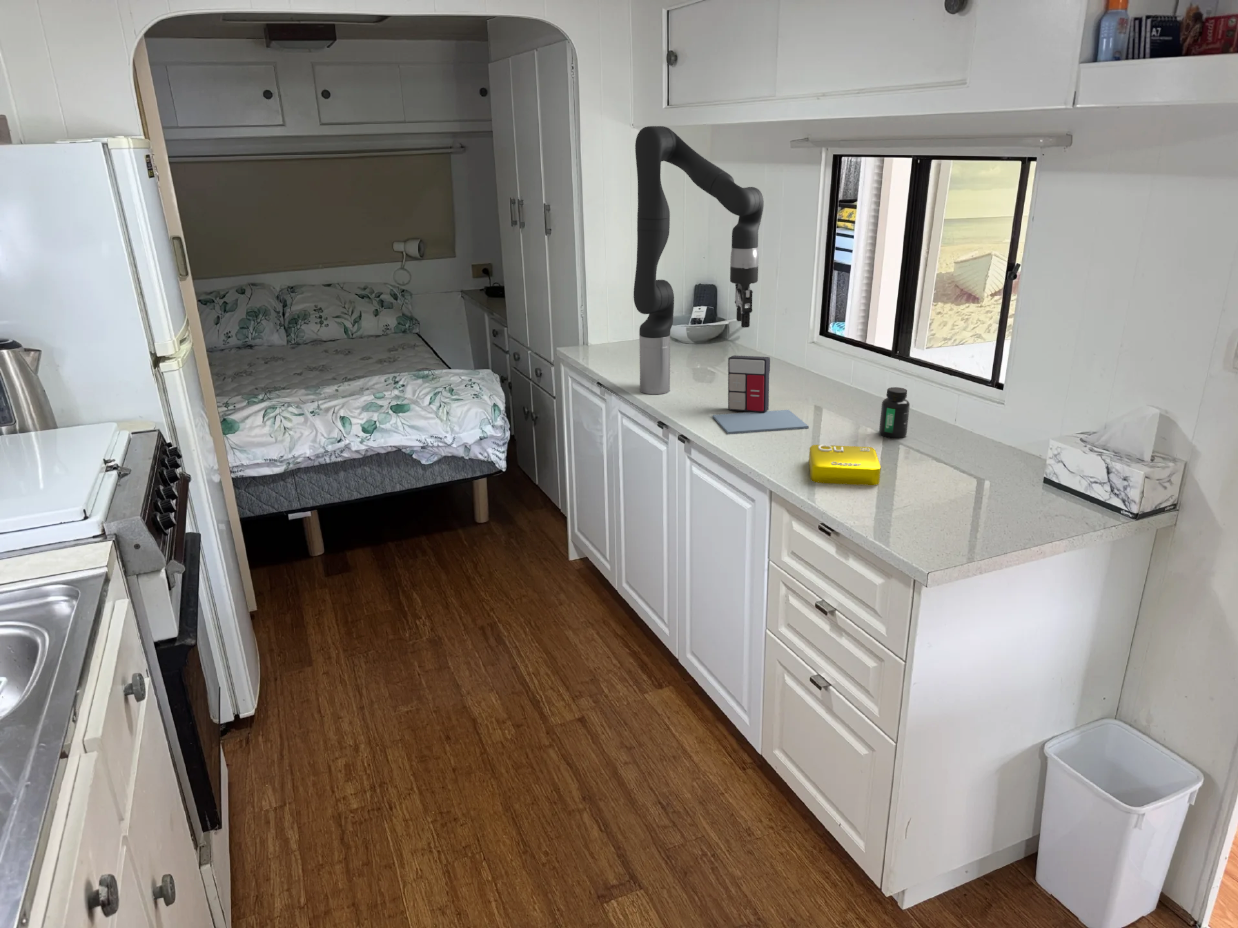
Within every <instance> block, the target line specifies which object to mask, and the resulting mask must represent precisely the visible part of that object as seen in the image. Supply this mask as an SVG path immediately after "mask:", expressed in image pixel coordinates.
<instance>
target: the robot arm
mask: <svg viewBox="0 0 1238 928" xmlns="http://www.w3.org/2000/svg"><path fill="white" fill-rule="evenodd" d="M634 144H635V145H634V149H635V150H634V151H635V161H636V162H635V163H636V164H635V165H636V174H637V175H636V177H637V215H636V216H637V217H636V219H637V220H636V222H637V224H636V225H637V226H636V227H637V228H636V230H637V231H636V232H637V233H636V235H637V236H636V237H637V240H636V241H637V242H636V244H637V245H636V267H635V277H634V283H633V303H634V307H635V309H636V310H637V312H639V313H640V314H641V315H648V317H647V318H646V319H645V321H644V322H642V323H641V324H640V326H639V331H638V333H639V334H638V335H639V391H640V392H641V393H643V394H646V395H661V394H666V393H669V392H670V391H671V329H672V327H673V324H674V308H675V293H674V289H673V287H672V285H671V284H670V283H669V282H668V281H667V280H665V279H657V271H658V264H659V261H660V259H661V257H662V254H663V252H664V250H665V248H666V246H667V244H668V240H669V236H670V225H671V224H670V221H671V220H670V219H671V218H670V217H671V214H670V213H671V212H670V207H669V203H668V200H667V198H666V195H665V192H664V190H663V186H662V180H661V174H662V173H661V172H662V171H661V169H662V168H661V167H662V166H661V165H662V162H666V163H669V164H671V165H673V166H676V168H679V169H680V170H682V171H683V172H684V173H685V174H686V175H687V176H688V177H689V178H690V180H691V182H693V183H694V184H695V185H696V186H697V187H698V188H699V189H701V190H703V191H704V192H705V193H707V194H709V195H710V196H711V197H713V198H715V199H716V200H717V201H718V203H720V204H721V205H722V207H724V208H725V209H726V210H727V211H728V212H730V213H731V214H733V215H735V216H738V220H737V224H736V225H734V227H733V228H732V231H731V252H730V261H729V262H730V264H729V266H730V268H729V269H730V270H729V273H730V274H729V281H730V283H732V284H734V285H735V293H734V303H735V308H736V321H737V322H740V323H741V325H740V326H741V328H743V329H744V328H750V324H751V321H750V319H751V314H752V313H753V293H754V291H753V290H752V289H751V286H750V285H751V284H755V283H758V281H759V229H760V226H761V222H762V218H763V217H762V216H763V212H764V206H765V205H764V195H763V194H762V191H761V190H760V189H759V188H757V187H754V186H747V187H742V186H740V185H738V184H737V183H735V179H734V177H733V176H732V175H731V174H729V173H728V172H727V171H725V170H724V169H722V168H720V167H719V166H717V165H716V164H714V163H713V162H711V161H709V160H708V159H706V158H705V157H704V156H702V155H701V154H700V153H698V152H697V151H696V150H694V149H693V148H692V147H690V146H689V144H687V143H686V142H685V141H684V140H683V139H682V138H681V136H679V135H678V134H677V133H676V132H675V131H673V129H671V128H669V127H667V126H663V125H649V126H644V127H642V128H641V129H640V130H639V131H638V133H637V135H636V138H635V143H634Z"/></svg>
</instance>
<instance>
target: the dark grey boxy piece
mask: <svg viewBox="0 0 1238 928" xmlns="http://www.w3.org/2000/svg"><path fill="white" fill-rule="evenodd" d="M727 359H728V360H727V366H728V367H727V373H728V374H727V375H728V376H727V381H728V382H727V384H728V385H727V386H728V387H727V390H728V391H727V397H728V398H727V406H728V407H727V409H728V410H729V411H737V412H739V411H740V412H762V413H764V412H766V411H770V410H769V406H770V404H769V403H770V402H769V401H770V399H769V398H770V396H769V395H770V373H771V372H770V371H771V358H770V357H769V356H754V355H731V356H729V357H728V358H727Z"/></svg>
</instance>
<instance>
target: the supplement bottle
mask: <svg viewBox="0 0 1238 928" xmlns="http://www.w3.org/2000/svg"><path fill="white" fill-rule="evenodd" d="M885 395H886V398H884V399H883V400H882V401H881V405H880V417H879V418H880V419H879V428H878V433H879V435H880V436H882V437H883V438H887V439H895V440H897V439H903V438H905V437H906V436H907V434H908V433H907V432H908V426H909V418H910V417H909V416H910V410H911V409H910V407H911V404H910V402H909V400H908V399H907V398H908V390H907V389H906V388H903V387H897V386H896V387H894V386H893V387H889V388H887V389H886V394H885Z"/></svg>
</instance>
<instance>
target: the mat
mask: <svg viewBox="0 0 1238 928" xmlns="http://www.w3.org/2000/svg"><path fill="white" fill-rule="evenodd" d="M711 416H712V418H713V419H714V420H715V421H716V423H717V424H718V425H719V426H720V427H721V429H723V431H724V432H726V433H727V434H728V435H735V434H736V435H737V434H747V433H762V432H774V431H791V430H804V429H809V427H810V426H809V425H808V424H807V423H805V421H803V420H802V419H800V417H798V416H797V415H796V414H794V412H792V411H791V410H790V409H780V410H778V409H777V410H768V411H766V412H764V413H762V412H749V411H747V412H738V413H737V412H736V413H735V412H732V413H722V414H712V415H711Z"/></svg>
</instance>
